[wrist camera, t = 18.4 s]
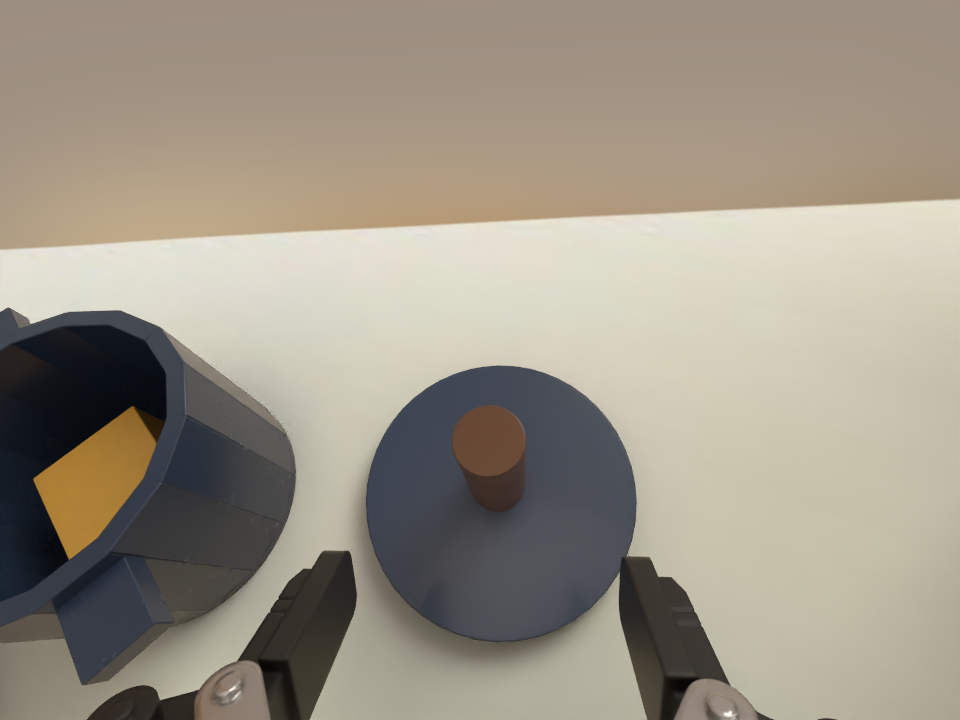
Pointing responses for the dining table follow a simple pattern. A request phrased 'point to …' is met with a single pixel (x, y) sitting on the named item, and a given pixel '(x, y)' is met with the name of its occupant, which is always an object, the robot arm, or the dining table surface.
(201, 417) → the pot
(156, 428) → the block
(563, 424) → the lid
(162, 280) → the dining table surface
